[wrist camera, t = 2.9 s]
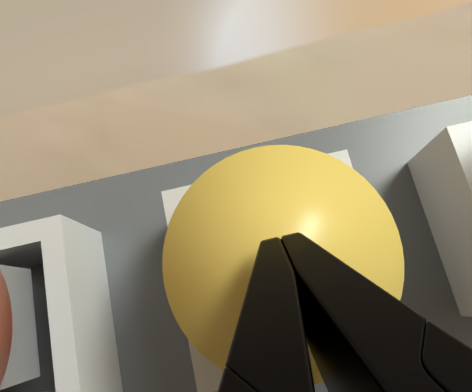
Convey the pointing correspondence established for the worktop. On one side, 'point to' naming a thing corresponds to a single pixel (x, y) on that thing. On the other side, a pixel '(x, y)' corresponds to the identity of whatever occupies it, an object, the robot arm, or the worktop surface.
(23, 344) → the button brick
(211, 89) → the worktop surface
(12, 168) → the worktop surface
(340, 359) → the robot arm
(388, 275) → the button mustard
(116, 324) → the control box
